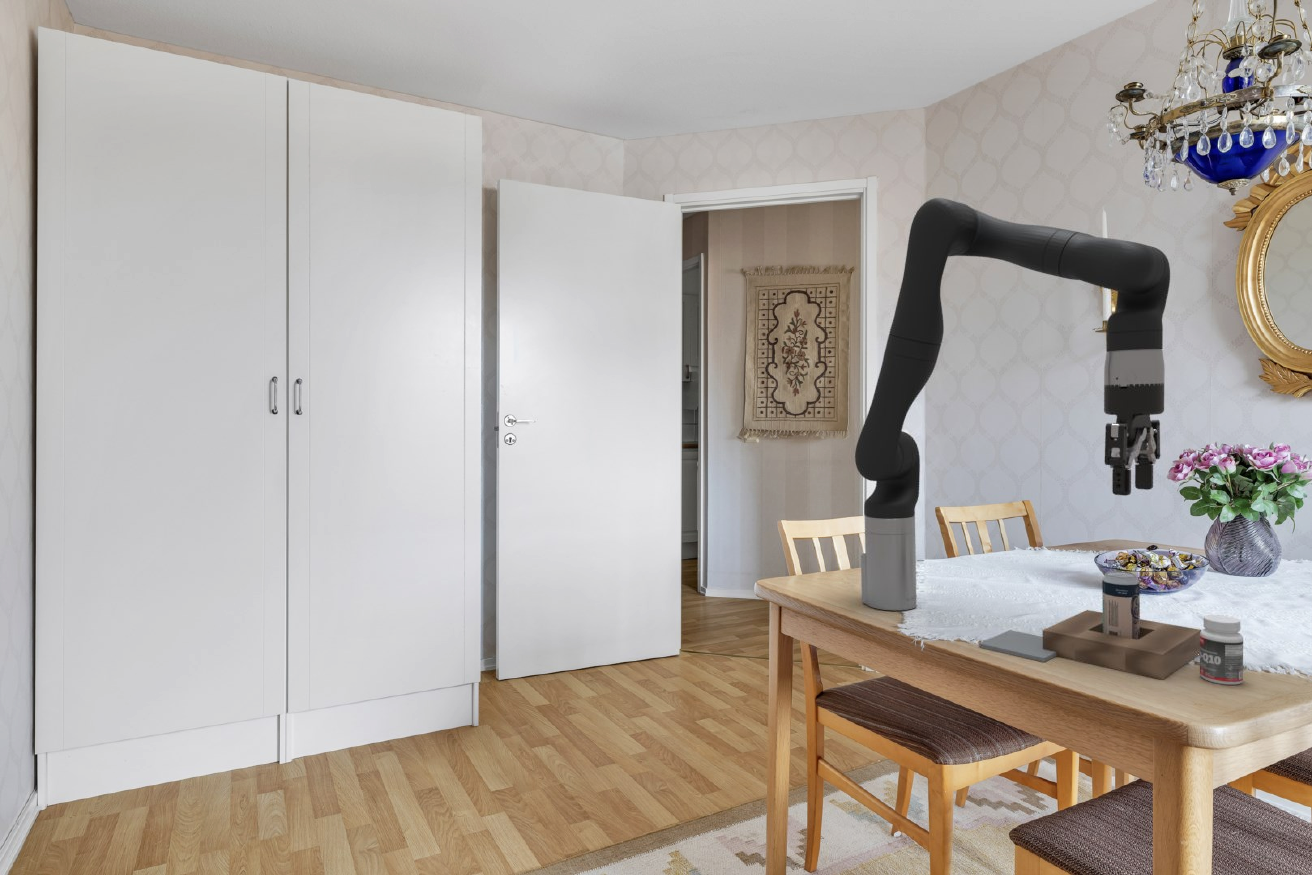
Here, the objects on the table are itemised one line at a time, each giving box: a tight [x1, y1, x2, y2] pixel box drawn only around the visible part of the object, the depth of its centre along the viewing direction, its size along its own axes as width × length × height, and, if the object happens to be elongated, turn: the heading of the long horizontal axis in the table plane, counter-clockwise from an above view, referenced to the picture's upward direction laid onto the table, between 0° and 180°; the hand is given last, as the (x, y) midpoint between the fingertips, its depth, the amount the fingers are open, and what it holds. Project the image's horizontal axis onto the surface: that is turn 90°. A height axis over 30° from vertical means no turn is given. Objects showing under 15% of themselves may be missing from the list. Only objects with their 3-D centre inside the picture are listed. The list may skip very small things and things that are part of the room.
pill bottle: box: [1199, 614, 1244, 686], centre depth 104 cm, size 5×5×8 cm
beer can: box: [1101, 570, 1141, 640], centre depth 116 cm, size 5×5×12 cm
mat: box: [978, 629, 1057, 663], centre depth 120 cm, size 10×10×1 cm
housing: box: [1042, 609, 1202, 681], centre depth 116 cm, size 16×16×4 cm
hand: (1133, 492), depth 113 cm, fingers open, 8 cm apart
